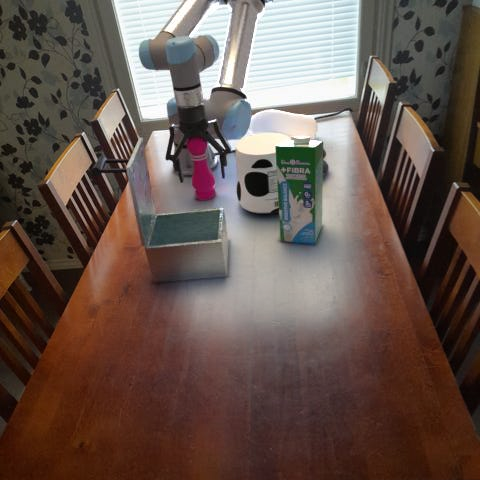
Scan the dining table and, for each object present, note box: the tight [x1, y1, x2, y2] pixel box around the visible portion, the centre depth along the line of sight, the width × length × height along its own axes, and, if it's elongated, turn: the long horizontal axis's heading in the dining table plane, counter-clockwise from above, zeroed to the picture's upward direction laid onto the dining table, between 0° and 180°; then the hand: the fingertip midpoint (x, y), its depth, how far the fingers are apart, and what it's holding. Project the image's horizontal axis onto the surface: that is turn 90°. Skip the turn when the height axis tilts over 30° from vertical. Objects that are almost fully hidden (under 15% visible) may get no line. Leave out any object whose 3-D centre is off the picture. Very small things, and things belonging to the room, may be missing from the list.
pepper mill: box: [187, 138, 217, 201], centre depth 135 cm, size 7×7×20 cm
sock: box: [248, 109, 319, 141], centre depth 164 cm, size 25×10×14 cm
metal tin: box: [144, 207, 229, 283], centre depth 112 cm, size 18×16×10 cm
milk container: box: [235, 132, 291, 215], centre depth 127 cm, size 17×17×18 cm
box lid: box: [91, 137, 156, 248], centre depth 103 cm, size 19×16×10 cm
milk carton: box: [275, 136, 324, 245], centre depth 111 cm, size 9×9×25 cm
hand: (202, 178), depth 138 cm, fingers open, 12 cm apart
